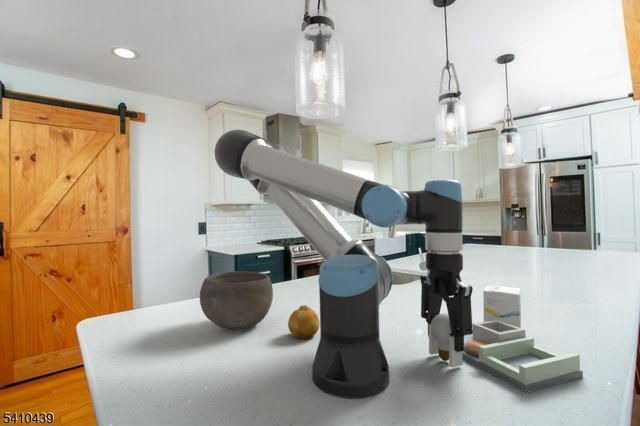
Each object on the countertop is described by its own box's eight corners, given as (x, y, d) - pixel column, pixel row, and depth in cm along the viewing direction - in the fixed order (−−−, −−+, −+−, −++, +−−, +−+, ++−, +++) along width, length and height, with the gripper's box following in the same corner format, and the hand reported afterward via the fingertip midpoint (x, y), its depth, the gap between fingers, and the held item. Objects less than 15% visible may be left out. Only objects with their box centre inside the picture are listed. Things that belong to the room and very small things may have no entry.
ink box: (521, 341, 81) (520, 293, 81) (483, 334, 85) (482, 290, 85) (521, 330, 88) (520, 287, 88) (486, 325, 93) (485, 284, 93)
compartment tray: (526, 392, 57) (525, 361, 57) (449, 351, 75) (449, 327, 75) (582, 377, 62) (582, 348, 62) (498, 341, 80) (498, 319, 80)
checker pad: (480, 356, 69) (480, 350, 69) (462, 347, 74) (462, 341, 74) (499, 352, 70) (498, 346, 70) (479, 343, 75) (479, 338, 75)
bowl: (287, 324, 96) (286, 273, 96) (224, 345, 81) (223, 285, 81) (247, 311, 110) (246, 267, 111) (187, 327, 95) (186, 276, 95)
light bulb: (462, 368, 67) (462, 319, 67) (432, 365, 68) (432, 317, 68) (456, 355, 72) (456, 310, 72) (428, 353, 74) (428, 309, 74)
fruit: (308, 318, 94) (299, 298, 91) (329, 327, 88) (319, 306, 85) (289, 339, 89) (278, 318, 86) (309, 350, 83) (298, 328, 80)
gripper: (493, 255, 63) (494, 376, 63) (429, 247, 80) (430, 341, 80) (462, 257, 60) (463, 383, 60) (404, 248, 78) (405, 345, 78)
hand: (445, 358), depth 70 cm, fingers closed on light bulb, 6 cm apart
